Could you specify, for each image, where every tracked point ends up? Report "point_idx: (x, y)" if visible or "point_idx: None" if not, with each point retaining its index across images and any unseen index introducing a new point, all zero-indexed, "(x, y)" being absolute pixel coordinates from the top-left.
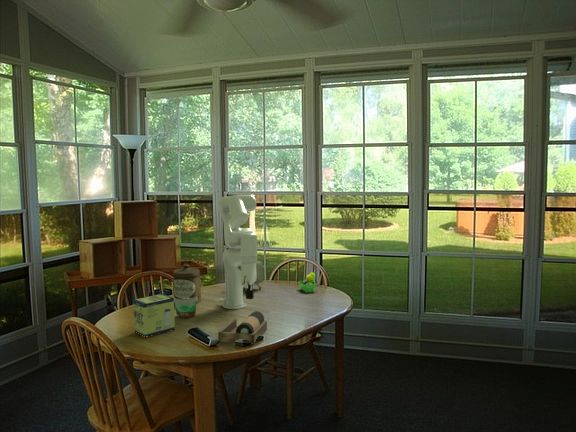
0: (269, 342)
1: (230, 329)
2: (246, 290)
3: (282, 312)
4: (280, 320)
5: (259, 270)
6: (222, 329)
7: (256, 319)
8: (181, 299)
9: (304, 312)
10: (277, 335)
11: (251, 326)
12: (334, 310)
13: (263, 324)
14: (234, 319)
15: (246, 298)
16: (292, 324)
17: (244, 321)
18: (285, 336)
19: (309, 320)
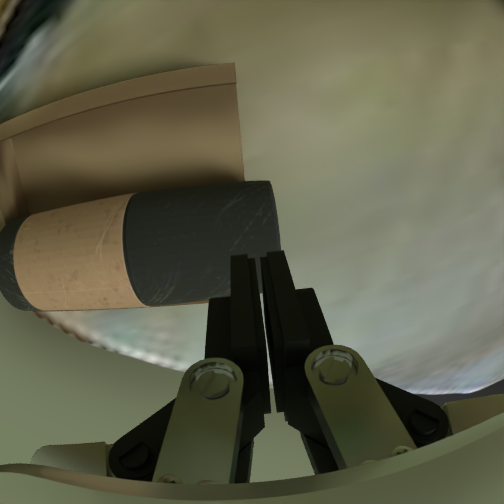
0: (98, 330)
1: (114, 103)
2: (192, 377)
3: (497, 245)
4: (400, 278)
5: None
6: (9, 123)
7: (129, 307)
8: None
9: (482, 318)
10: (184, 335)
11: (38, 310)
12: (476, 375)
13: (183, 304)
14: (218, 73)
15: (231, 260)
16: (346, 340)
17: (31, 274)
18: (186, 361)
19: (396, 366)
